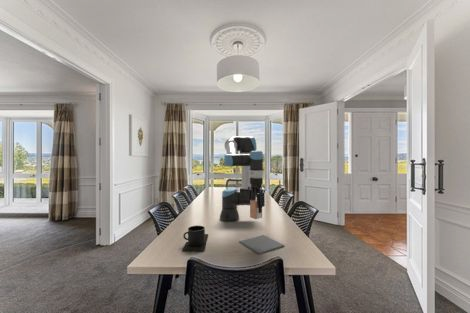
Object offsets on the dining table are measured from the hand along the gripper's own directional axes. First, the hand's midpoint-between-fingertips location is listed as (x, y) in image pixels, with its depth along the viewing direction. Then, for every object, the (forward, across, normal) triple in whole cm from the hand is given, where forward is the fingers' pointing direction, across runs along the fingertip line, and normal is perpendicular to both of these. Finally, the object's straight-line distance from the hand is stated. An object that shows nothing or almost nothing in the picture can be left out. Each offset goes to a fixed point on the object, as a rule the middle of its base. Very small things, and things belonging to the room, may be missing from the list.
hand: (256, 216), depth 132 cm
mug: (+15, -16, -32) cm, 39 cm away
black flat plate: (+15, -18, -31) cm, 39 cm away
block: (0, 0, 0) cm, 0 cm away
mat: (+14, +5, 0) cm, 15 cm away
